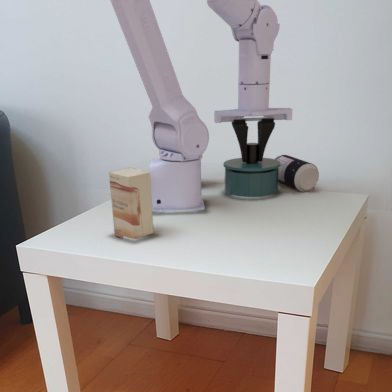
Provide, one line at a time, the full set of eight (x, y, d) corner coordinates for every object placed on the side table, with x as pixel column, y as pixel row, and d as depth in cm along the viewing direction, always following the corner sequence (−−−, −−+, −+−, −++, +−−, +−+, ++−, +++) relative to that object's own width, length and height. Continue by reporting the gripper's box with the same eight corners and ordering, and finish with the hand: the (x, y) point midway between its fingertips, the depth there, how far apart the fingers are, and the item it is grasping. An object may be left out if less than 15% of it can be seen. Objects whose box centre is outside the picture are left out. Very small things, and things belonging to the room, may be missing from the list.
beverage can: (318, 158, 102) (288, 149, 112) (292, 171, 101) (265, 160, 111) (323, 186, 105) (294, 174, 115) (299, 198, 105) (271, 185, 115)
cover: (227, 175, 99) (227, 150, 96) (220, 164, 108) (220, 140, 106) (286, 173, 100) (287, 147, 97) (273, 161, 109) (274, 138, 107)
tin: (227, 200, 102) (227, 174, 99) (223, 187, 111) (223, 163, 108) (281, 198, 102) (282, 172, 100) (272, 186, 111) (273, 161, 109)
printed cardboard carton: (113, 236, 85) (106, 171, 79) (134, 229, 87) (129, 166, 82) (134, 243, 81) (128, 176, 76) (155, 236, 84) (151, 170, 79)
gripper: (217, 86, 92) (217, 166, 99) (298, 83, 93) (293, 163, 100) (212, 83, 99) (213, 159, 105) (288, 81, 99) (284, 156, 106)
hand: (251, 161), depth 103 cm, fingers closed on cover, 2 cm apart
